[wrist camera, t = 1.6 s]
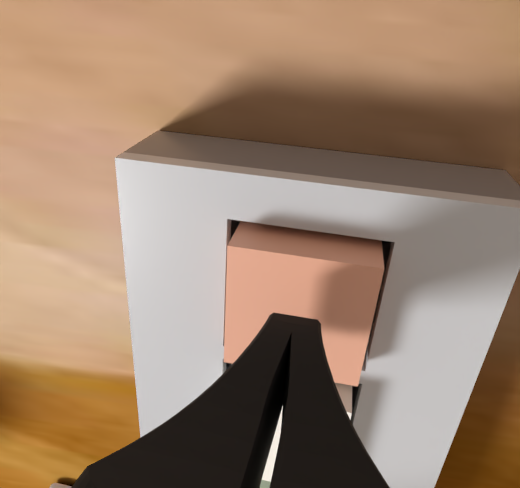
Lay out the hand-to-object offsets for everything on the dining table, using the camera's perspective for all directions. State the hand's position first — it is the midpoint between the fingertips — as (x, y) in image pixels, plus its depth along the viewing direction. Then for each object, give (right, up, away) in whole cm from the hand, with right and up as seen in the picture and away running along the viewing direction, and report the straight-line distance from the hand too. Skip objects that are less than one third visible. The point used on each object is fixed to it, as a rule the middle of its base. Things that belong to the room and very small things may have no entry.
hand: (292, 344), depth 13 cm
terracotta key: (+1, +2, +3) cm, 3 cm away
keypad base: (+1, -2, +8) cm, 8 cm away
